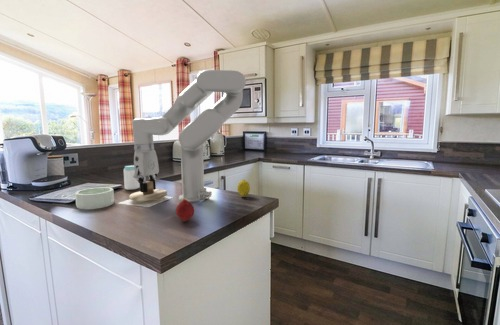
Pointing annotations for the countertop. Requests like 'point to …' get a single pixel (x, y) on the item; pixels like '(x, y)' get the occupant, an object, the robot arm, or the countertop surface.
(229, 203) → the countertop surface
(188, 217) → the onion
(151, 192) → the lid
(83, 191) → the bowl
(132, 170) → the can
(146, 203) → the mat
